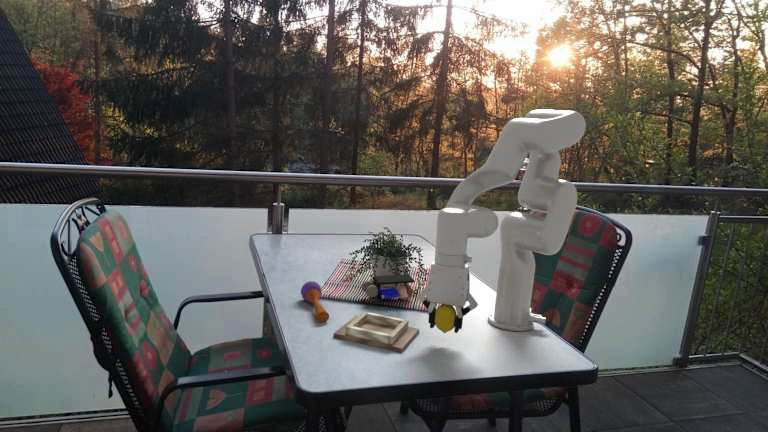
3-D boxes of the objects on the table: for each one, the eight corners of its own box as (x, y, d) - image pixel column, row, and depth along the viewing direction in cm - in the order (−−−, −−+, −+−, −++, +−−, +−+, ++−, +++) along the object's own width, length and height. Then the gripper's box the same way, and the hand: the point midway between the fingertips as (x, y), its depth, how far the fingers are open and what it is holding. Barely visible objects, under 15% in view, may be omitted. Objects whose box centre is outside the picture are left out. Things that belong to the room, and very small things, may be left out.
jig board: (418, 332, 144) (419, 321, 143) (401, 352, 131) (402, 340, 130) (355, 319, 150) (356, 308, 149) (333, 337, 137) (334, 325, 136)
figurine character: (367, 309, 163) (415, 302, 167) (366, 284, 161) (415, 277, 165) (361, 301, 169) (408, 294, 173) (360, 277, 167) (407, 271, 172)
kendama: (310, 309, 144) (298, 280, 162) (313, 329, 146) (300, 298, 164) (332, 304, 146) (318, 276, 164) (335, 324, 147) (320, 294, 166)
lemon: (438, 338, 135) (440, 307, 133) (430, 329, 140) (432, 299, 138) (459, 336, 136) (461, 306, 135) (450, 328, 141) (453, 298, 140)
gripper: (488, 260, 135) (481, 329, 138) (420, 250, 141) (416, 317, 144) (482, 268, 128) (475, 340, 132) (411, 257, 134) (407, 327, 137)
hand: (444, 327), depth 138 cm, fingers closed on lemon, 5 cm apart
